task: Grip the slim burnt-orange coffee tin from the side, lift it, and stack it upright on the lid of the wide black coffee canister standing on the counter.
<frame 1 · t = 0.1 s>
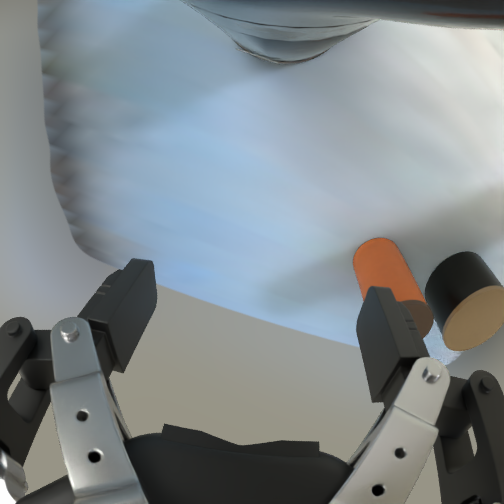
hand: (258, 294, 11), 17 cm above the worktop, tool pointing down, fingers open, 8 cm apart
black canister: (456, 282, 30), on the worktop
orange tin: (376, 259, 30), on the worktop
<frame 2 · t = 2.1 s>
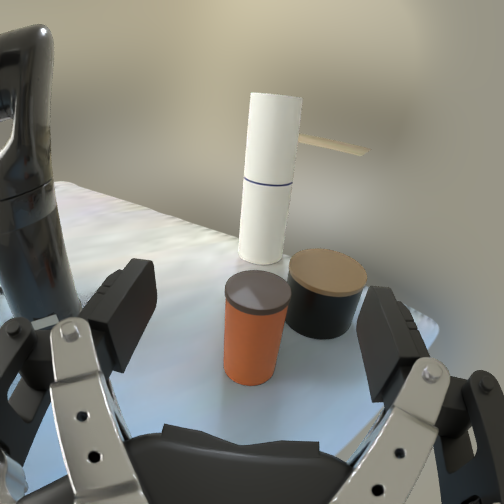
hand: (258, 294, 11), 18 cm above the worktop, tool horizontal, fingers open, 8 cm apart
black canister: (316, 314, 37), on the worktop
cylindrical container: (260, 254, 50), on the worktop
orange tin: (249, 365, 29), on the worktop
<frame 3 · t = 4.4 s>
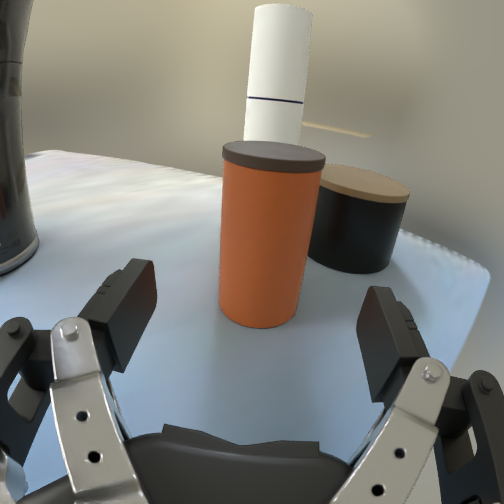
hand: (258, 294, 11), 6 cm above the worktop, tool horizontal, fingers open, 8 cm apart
black canister: (345, 248, 28), on the worktop
cylindrical container: (266, 194, 41), on the worktop
orange tin: (257, 301, 20), on the worktop
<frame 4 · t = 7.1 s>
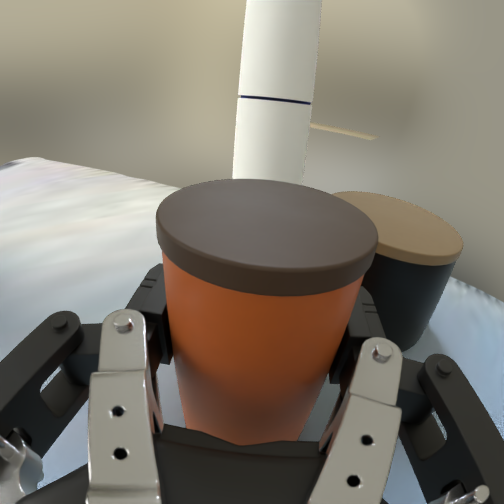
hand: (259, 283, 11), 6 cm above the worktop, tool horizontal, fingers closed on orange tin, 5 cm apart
black canister: (366, 308, 20), on the worktop
cylindrical container: (263, 219, 33), on the worktop
orange tin: (243, 421, 12), on the worktop, touching gripper
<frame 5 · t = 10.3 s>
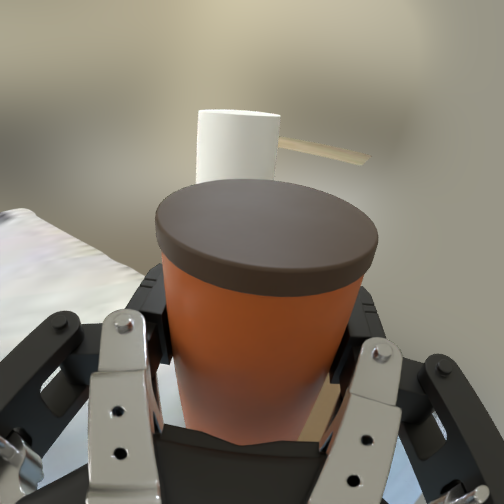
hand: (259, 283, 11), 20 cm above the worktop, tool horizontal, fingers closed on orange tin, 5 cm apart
black canister: (294, 436, 24), on the worktop
cylindrical container: (227, 330, 37), on the worktop
orange tin: (243, 421, 12), point 14 cm above the worktop, touching gripper
when the fingers open (13 cm above the worktop, at t = 14.0 s): orange tin stays where it is, resting on black canister.
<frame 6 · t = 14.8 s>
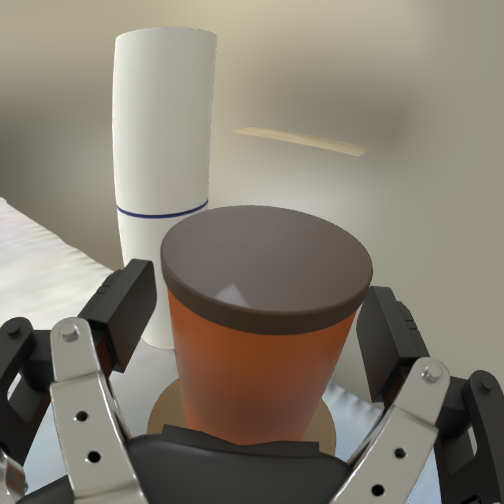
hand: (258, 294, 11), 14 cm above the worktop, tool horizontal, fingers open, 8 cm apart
black canister: (237, 471, 16), on the worktop, touching orange tin
cylindrical container: (171, 324, 29), on the worktop
orange tin: (244, 430, 13), point 7 cm above the worktop, touching black canister
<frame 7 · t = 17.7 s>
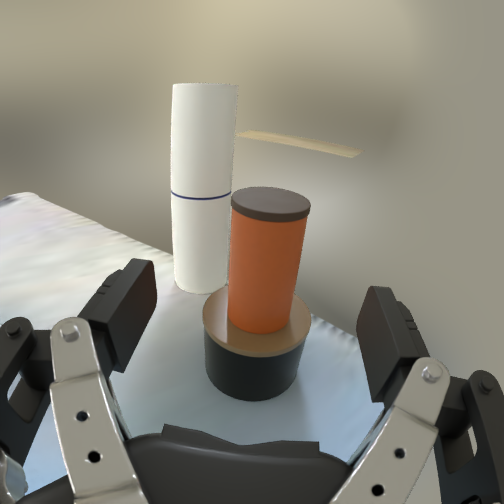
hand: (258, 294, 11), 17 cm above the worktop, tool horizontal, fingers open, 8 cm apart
black canister: (251, 364, 29), on the worktop, touching orange tin
cylindrical container: (201, 279, 41), on the worktop
orange tin: (258, 312, 25), point 7 cm above the worktop, touching black canister
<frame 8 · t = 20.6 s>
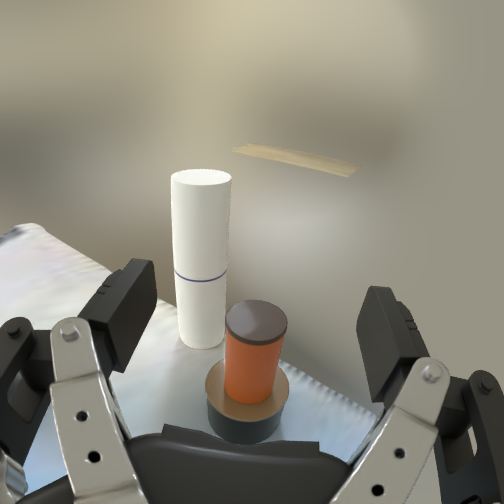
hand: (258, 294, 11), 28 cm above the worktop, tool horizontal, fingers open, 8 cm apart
black canister: (243, 414, 34), on the worktop, touching orange tin
cylindrical container: (202, 334, 47), on the worktop
orange tin: (248, 385, 31), point 7 cm above the worktop, touching black canister
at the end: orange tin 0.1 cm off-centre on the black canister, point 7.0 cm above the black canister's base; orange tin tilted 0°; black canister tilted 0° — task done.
